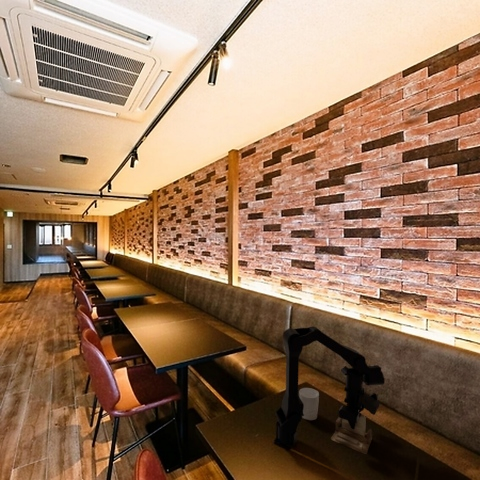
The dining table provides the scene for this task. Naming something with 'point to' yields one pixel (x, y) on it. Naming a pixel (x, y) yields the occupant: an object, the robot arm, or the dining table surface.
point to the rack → (353, 436)
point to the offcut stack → (349, 441)
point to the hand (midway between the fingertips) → (353, 427)
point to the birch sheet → (356, 426)
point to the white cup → (309, 403)
